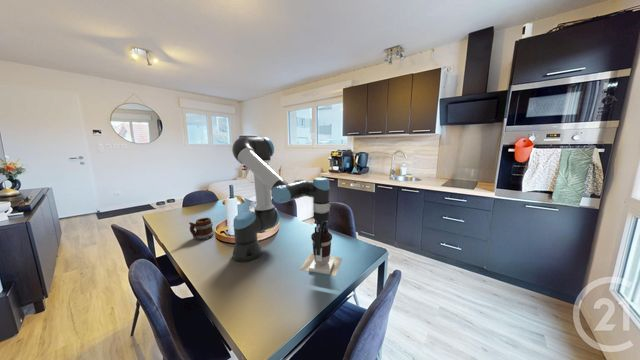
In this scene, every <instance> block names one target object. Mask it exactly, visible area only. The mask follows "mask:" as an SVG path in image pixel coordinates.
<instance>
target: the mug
mask: <svg viewBox="0 0 640 360" xmlns="http://www.w3.org/2000/svg"><path fill="white" fill-rule="evenodd" d="M188 224H189V232H190V233H191V235H192V238H195V239H196V240H197V239H198V240H197V241H204V240H203V239H205V240H208V239H207V238H209V239H211V238H213V237H214V236H213V235H215V230H214V229H213V222H212V219H211V217H201V218H198V219H196V220H195V223H194V222H191V221H189V222H188ZM212 236H213V237H212ZM210 237H211V238H210Z"/></svg>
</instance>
